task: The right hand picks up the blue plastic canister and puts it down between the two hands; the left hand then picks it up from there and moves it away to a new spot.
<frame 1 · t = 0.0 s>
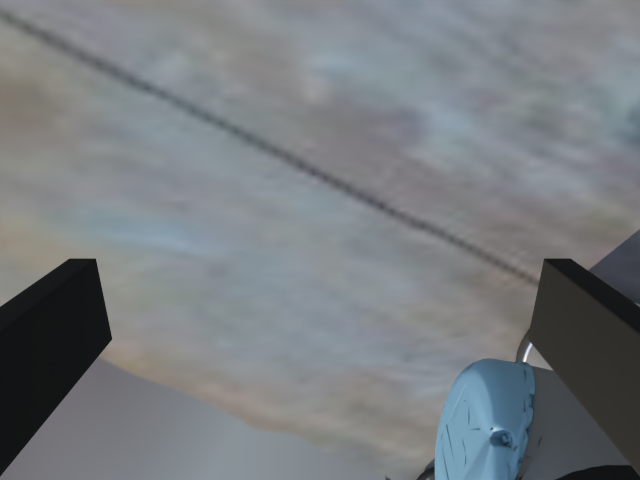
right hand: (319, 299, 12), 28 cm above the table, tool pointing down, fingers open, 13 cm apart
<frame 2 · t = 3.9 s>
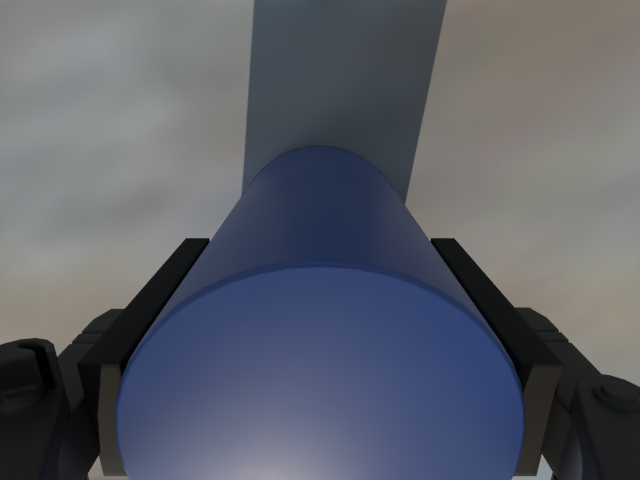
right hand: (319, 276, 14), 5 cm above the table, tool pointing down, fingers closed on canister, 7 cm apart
canister: (320, 226, 19), on the table, touching right hand
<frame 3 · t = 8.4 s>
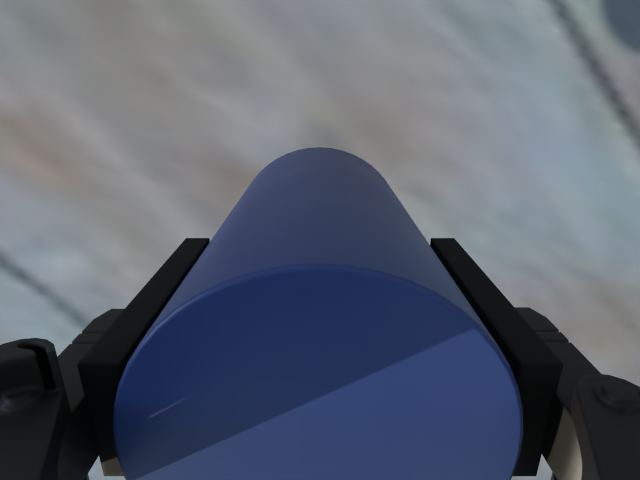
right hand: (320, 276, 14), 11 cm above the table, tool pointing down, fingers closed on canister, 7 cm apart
canister: (319, 228, 19), point 6 cm above the table, touching right hand
when the right hand's fingers open (7 cm above the table, at t = 12.9 s): canister drops 2 cm, on the table.
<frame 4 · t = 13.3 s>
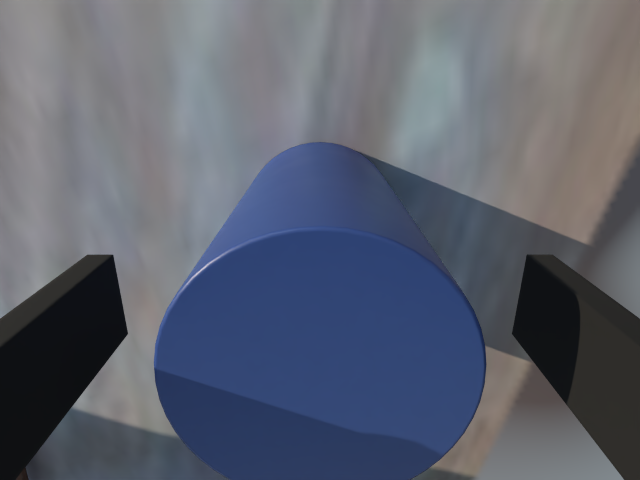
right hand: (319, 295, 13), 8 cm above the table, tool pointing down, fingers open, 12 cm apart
canister: (320, 216, 21), on the table
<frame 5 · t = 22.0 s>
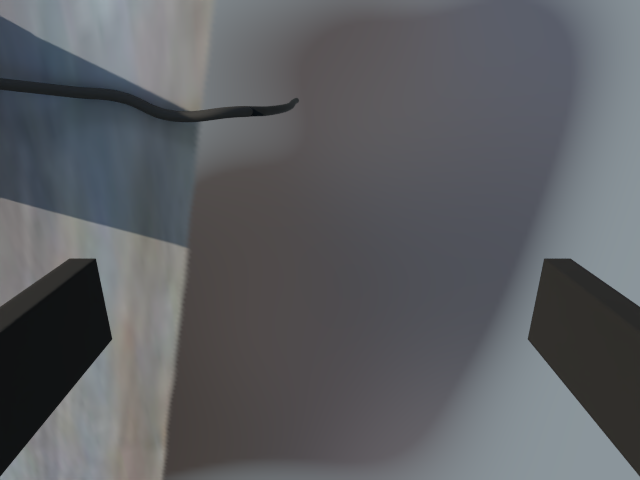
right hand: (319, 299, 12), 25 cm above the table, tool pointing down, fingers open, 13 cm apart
when the left hand's fingers open (7 cm above the table, at t = 28.7 s): canister drops 2 cm, on the table.
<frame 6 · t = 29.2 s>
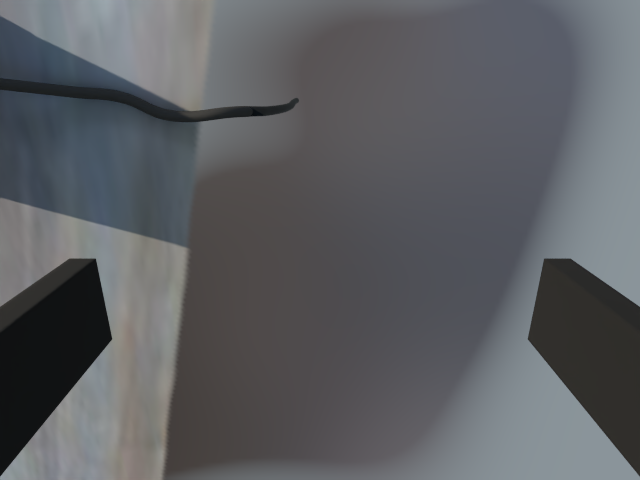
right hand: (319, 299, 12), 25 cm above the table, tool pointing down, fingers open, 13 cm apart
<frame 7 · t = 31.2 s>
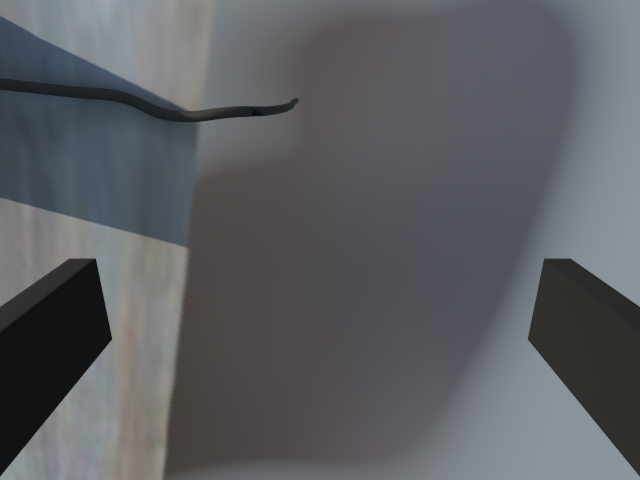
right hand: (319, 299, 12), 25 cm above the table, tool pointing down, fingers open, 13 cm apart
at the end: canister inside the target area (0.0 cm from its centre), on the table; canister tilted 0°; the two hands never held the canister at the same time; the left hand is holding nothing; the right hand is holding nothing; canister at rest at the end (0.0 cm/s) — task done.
